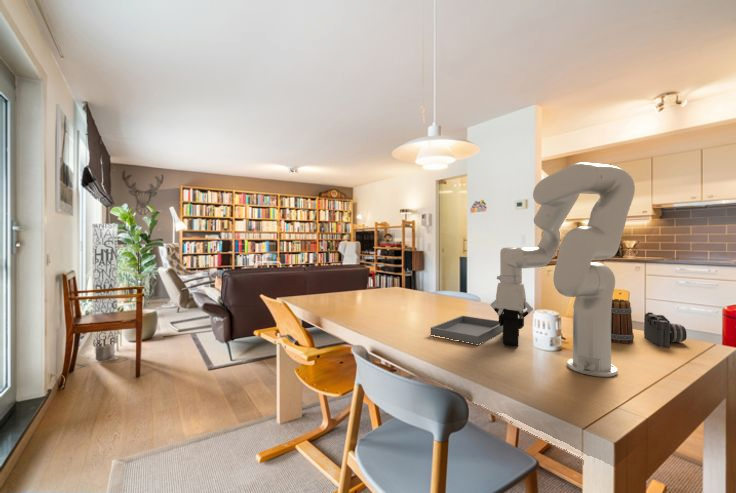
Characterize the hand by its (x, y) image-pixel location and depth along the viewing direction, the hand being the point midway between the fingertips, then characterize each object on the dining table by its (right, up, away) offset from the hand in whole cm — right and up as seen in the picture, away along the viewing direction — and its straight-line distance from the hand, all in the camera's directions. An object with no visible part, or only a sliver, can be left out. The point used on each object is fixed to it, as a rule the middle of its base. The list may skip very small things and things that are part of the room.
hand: (511, 326), depth 131 cm
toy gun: (0, -6, 0) cm, 6 cm away
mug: (+38, -5, 0) cm, 38 cm away
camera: (+56, -5, -4) cm, 56 cm away
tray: (-13, -5, +11) cm, 18 cm away
